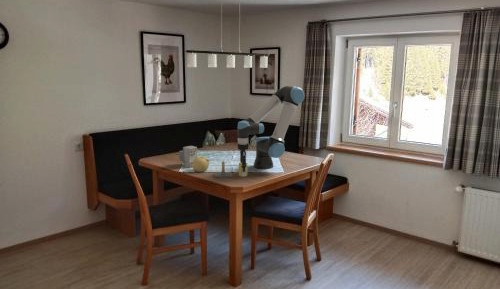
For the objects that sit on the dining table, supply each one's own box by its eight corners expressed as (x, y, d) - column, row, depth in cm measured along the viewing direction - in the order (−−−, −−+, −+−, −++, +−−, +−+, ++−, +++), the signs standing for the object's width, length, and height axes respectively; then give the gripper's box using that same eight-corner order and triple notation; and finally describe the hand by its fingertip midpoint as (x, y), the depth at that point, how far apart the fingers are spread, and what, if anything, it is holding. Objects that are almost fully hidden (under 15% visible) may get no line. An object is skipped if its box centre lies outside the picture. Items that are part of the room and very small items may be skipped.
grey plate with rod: (231, 173, 277) (231, 160, 275) (232, 177, 267) (232, 163, 265) (214, 173, 276) (214, 160, 273) (214, 177, 266) (214, 163, 264)
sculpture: (211, 169, 286) (211, 155, 284) (203, 173, 276) (203, 159, 273) (198, 168, 291) (197, 154, 289) (189, 172, 280) (189, 157, 278)
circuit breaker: (185, 163, 305) (184, 144, 302) (197, 166, 296) (197, 147, 293) (178, 164, 299) (177, 146, 296) (190, 168, 290) (190, 148, 287)
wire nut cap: (246, 173, 276) (246, 162, 274) (247, 176, 270) (247, 164, 269) (238, 174, 276) (238, 162, 274) (239, 176, 270) (239, 164, 268)
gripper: (236, 140, 279) (236, 169, 284) (239, 147, 256) (239, 178, 261) (246, 140, 280) (246, 169, 284) (250, 146, 257) (250, 178, 262)
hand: (243, 173), depth 273 cm, fingers open, 11 cm apart
